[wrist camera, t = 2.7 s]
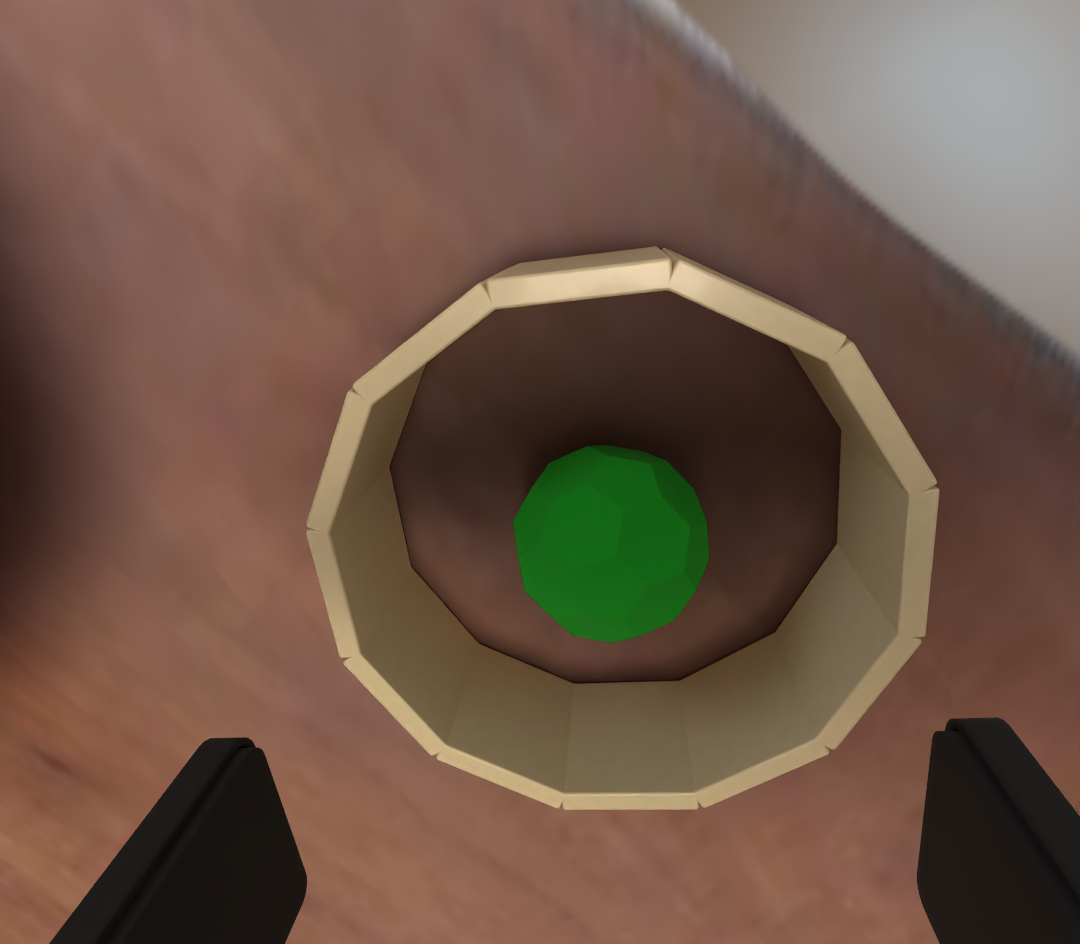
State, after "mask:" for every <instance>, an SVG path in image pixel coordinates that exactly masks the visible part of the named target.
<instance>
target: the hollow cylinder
mask: <svg viewBox="0 0 1080 944" xmlns="http://www.w3.org/2000/svg"><path fill="white" fill-rule="evenodd" d="M665 290H669V291H671V292H673V293H675V294H677V295H680V296H682V297H684V298H686V299H688V300H691V301H693V302H695V303H697V304H699V305H702V306H704V307H706V308H708V309H710V310H712V311H715V312H717V313H719V314H721V315H723V316H726V317H728V318H730V319H732V320H734V321H737V322H739V323H741V324H743V325H745V326H747V327H750V328H752V329H754V330H756V331H758V332H761V333H763V334H765V335H767V336H769V337H772V338H774V339H776V340H778V341H780V342H783V343H785V344H787V345H788V346H789V348H790V349H791V351H792V353H793V354H794V356H795V357H796V359H797V360H798V362H799V364H800V365H801V367H802V368H803V370H804V372H805V373H806V375H807V376H808V378H809V379H810V381H811V383H812V384H813V386H814V387H815V389H816V391H817V392H818V394H819V395H820V397H821V398H822V400H823V402H824V403H825V405H826V406H827V408H828V410H829V411H830V413H831V414H832V416H833V418H834V419H835V421H836V422H837V424H838V425H839V427H840V429H841V452H840V477H839V502H838V527H837V544H836V545H835V547H834V548H833V550H832V551H831V553H830V554H829V555H828V557H827V558H826V560H825V561H824V563H823V564H822V566H821V567H820V568H819V570H818V571H817V573H816V574H815V576H814V577H813V579H812V580H811V581H810V583H809V584H808V586H807V587H806V589H805V590H804V591H803V593H802V594H801V596H800V597H799V599H798V600H797V602H796V603H795V604H794V606H793V607H792V609H791V610H790V612H789V613H788V614H787V616H786V617H785V619H784V620H783V622H782V623H781V625H780V626H779V627H778V629H777V630H776V632H775V633H773V634H771V635H769V636H767V637H765V638H763V639H761V640H759V641H757V642H755V643H753V644H751V645H749V646H747V647H745V648H743V649H741V650H739V651H737V652H735V653H733V654H731V655H729V656H727V657H725V658H723V659H721V660H719V661H718V662H716V663H714V664H712V665H710V666H708V667H706V668H704V669H702V670H700V671H698V672H696V673H694V674H692V675H690V676H688V677H686V678H684V679H682V680H680V681H654V682H620V683H586V684H573V683H571V682H569V681H566V680H564V679H562V678H559V677H557V676H554V675H552V674H550V673H547V672H545V671H542V670H540V669H538V668H535V667H533V666H531V665H528V664H526V663H523V662H521V661H519V660H516V659H514V658H511V657H509V656H507V655H504V654H502V653H500V652H497V651H495V650H492V649H490V648H488V647H485V646H483V645H481V644H479V643H478V642H477V641H476V640H475V639H474V638H473V637H472V635H471V634H470V633H469V632H468V631H467V630H466V629H465V627H464V626H463V625H462V624H461V623H460V622H459V621H458V620H457V618H456V617H455V616H454V615H453V614H452V613H451V612H450V610H449V609H448V608H447V607H446V606H445V605H444V604H443V602H442V601H441V600H440V599H439V598H438V597H437V596H436V594H435V593H434V592H433V591H432V590H431V589H430V588H429V586H428V585H427V584H426V583H425V582H424V581H423V580H422V578H421V577H420V576H419V575H418V574H417V573H416V572H415V571H414V569H413V568H412V567H411V565H410V560H409V556H408V551H407V546H406V542H405V537H404V532H403V528H402V523H401V518H400V514H399V509H398V505H397V500H396V495H395V491H394V486H393V481H392V477H391V472H390V468H389V466H390V463H391V460H392V457H393V455H394V452H395V449H396V446H397V443H398V441H399V438H400V435H401V432H402V430H403V427H404V424H405V421H406V418H407V416H408V413H409V410H410V407H411V404H412V402H413V399H414V396H415V393H416V390H417V388H418V385H419V382H420V379H421V377H422V374H423V371H424V368H425V365H426V363H427V362H429V361H430V360H431V359H432V358H434V357H435V356H436V355H438V354H439V353H440V352H441V351H443V350H444V349H445V348H447V347H448V346H449V345H450V344H452V343H453V342H454V341H456V340H457V339H458V338H459V337H461V336H462V335H463V334H465V333H466V332H467V331H468V330H470V329H471V328H472V327H474V326H475V325H476V324H477V323H479V322H480V321H481V320H483V319H484V318H485V317H486V316H488V315H489V314H490V313H492V312H493V311H494V310H496V309H505V308H514V307H523V306H532V305H541V304H549V303H558V302H567V301H576V300H585V299H594V298H603V297H612V296H620V295H629V294H638V293H647V292H656V291H665ZM936 484H937V481H936V479H935V477H934V475H933V474H932V472H931V470H930V469H929V467H928V465H927V464H926V462H925V460H924V459H923V457H922V455H921V454H920V452H919V450H918V449H917V447H916V445H915V444H914V442H913V440H912V439H911V437H910V435H909V434H908V432H907V430H906V429H905V427H904V425H903V424H902V422H901V420H900V419H899V417H898V415H897V414H896V412H895V410H894V409H893V407H892V406H891V404H890V402H889V401H888V399H887V397H886V396H885V394H884V392H883V391H882V389H881V387H880V386H879V384H878V382H877V381H876V379H875V377H874V376H873V374H872V372H871V371H870V369H869V367H868V366H867V364H866V362H865V361H864V359H863V357H862V356H861V354H860V352H859V351H858V349H857V347H856V346H855V344H854V343H853V342H851V341H850V340H848V339H846V336H845V335H844V334H842V333H841V332H839V331H837V330H835V329H833V328H831V327H829V326H828V325H826V324H824V323H822V322H820V321H818V320H816V319H815V318H813V317H811V316H809V315H807V314H805V313H803V312H802V311H800V310H798V309H796V308H794V307H792V306H790V305H788V304H786V303H784V302H782V301H780V300H778V299H775V298H773V297H771V296H769V295H767V294H764V293H762V292H760V291H758V290H756V289H754V288H751V287H749V286H747V285H745V284H743V283H741V282H738V281H736V280H734V279H732V278H730V277H728V276H725V275H723V274H721V273H719V272H717V271H714V270H712V269H710V268H708V267H706V266H704V265H701V264H699V263H697V262H695V261H693V260H691V259H688V258H686V257H684V256H682V255H680V254H678V253H675V252H673V251H671V250H669V249H667V248H663V249H662V250H660V249H659V248H658V247H656V246H654V247H646V248H638V249H630V250H622V251H613V252H605V253H597V254H589V255H581V256H573V257H564V258H556V259H548V260H540V261H532V262H523V263H519V264H517V265H515V266H512V267H509V268H507V269H505V270H503V271H501V272H499V273H498V274H496V275H494V276H492V277H490V278H488V279H486V280H484V281H482V282H480V283H478V284H477V285H475V286H474V287H473V288H472V289H471V290H469V291H468V292H467V293H466V294H464V295H463V296H462V297H461V298H459V299H458V300H457V301H456V302H454V303H453V304H452V305H451V306H449V307H448V308H447V309H446V310H444V311H443V312H442V313H441V314H439V315H438V316H437V317H436V318H434V319H433V320H432V321H431V322H429V323H428V324H427V325H426V326H424V327H423V328H422V329H421V330H419V331H418V332H417V333H416V334H414V335H413V336H412V337H411V338H409V339H408V340H407V341H406V342H404V343H403V344H402V345H401V346H399V347H398V348H397V349H396V350H394V351H393V352H392V353H391V354H389V355H388V356H387V357H386V358H384V359H383V360H382V361H381V362H380V363H378V364H377V365H376V366H375V367H373V368H372V369H371V370H370V371H368V372H367V373H366V374H365V375H363V376H362V377H361V378H360V379H358V380H357V381H356V382H355V383H354V384H353V388H352V389H351V390H349V391H348V392H347V395H346V398H345V402H344V405H343V408H342V411H341V414H340V417H339V421H338V424H337V427H336V430H335V433H334V437H333V440H332V443H331V446H330V449H329V452H328V456H327V459H326V462H325V465H324V468H323V471H322V475H321V478H320V481H319V484H318V487H317V491H316V494H315V497H314V500H313V503H312V506H311V510H310V513H309V516H308V519H307V522H306V526H307V527H308V528H309V529H308V530H307V531H306V536H307V539H308V543H309V547H310V550H311V554H312V557H313V561H314V565H315V568H316V572H317V576H318V579H319V583H320V587H321V590H322V594H323V598H324V601H325V605H326V609H327V612H328V616H329V620H330V623H331V627H332V631H333V634H334V638H335V641H336V645H337V649H338V652H339V656H340V657H341V658H345V659H344V661H343V664H344V665H345V666H346V667H347V668H348V669H349V670H350V671H351V672H352V673H353V674H354V675H355V677H356V678H357V679H358V680H359V681H360V682H361V683H362V684H363V685H364V686H365V687H366V688H367V689H368V690H369V691H370V692H371V693H372V694H373V695H374V696H375V698H376V699H377V700H378V701H379V702H380V703H381V704H382V705H383V706H384V707H385V708H386V709H387V710H388V711H389V712H390V713H391V714H392V715H393V716H394V717H395V718H396V720H397V721H398V722H399V723H400V724H401V725H402V726H403V727H404V728H405V729H406V730H407V731H408V732H409V733H410V734H411V735H412V736H413V737H414V738H415V739H416V740H417V742H418V743H419V744H420V745H421V746H422V747H423V748H424V749H425V750H426V751H427V752H428V753H429V754H430V755H431V756H433V755H435V754H437V756H436V757H437V760H440V761H442V762H445V763H447V764H449V765H452V766H454V767H457V768H459V769H462V770H464V771H467V772H469V773H471V774H474V775H476V776H479V777H481V778H484V779H486V780H489V781H491V782H493V783H496V784H498V785H501V786H503V787H506V788H508V789H511V790H513V791H516V792H518V793H520V794H523V795H525V796H528V797H530V798H533V799H535V800H538V801H540V802H542V803H545V804H547V805H550V806H552V807H555V808H559V807H560V805H561V803H562V805H563V809H565V810H696V809H698V807H699V803H700V804H701V806H702V807H704V808H706V807H708V806H711V805H713V804H715V803H717V802H720V801H722V800H724V799H727V798H729V797H731V796H734V795H736V794H738V793H740V792H743V791H745V790H747V789H750V788H752V787H754V786H757V785H759V784H761V783H764V782H766V781H768V780H770V779H773V778H775V777H777V776H780V775H782V774H784V773H787V772H789V771H791V770H793V769H796V768H798V767H800V766H803V765H805V764H807V763H810V762H812V761H814V760H816V759H819V758H821V757H823V756H826V755H828V754H829V750H828V748H830V749H833V750H834V749H836V748H837V747H838V745H839V744H840V743H841V742H842V740H843V739H844V738H845V737H846V735H847V734H848V733H849V732H850V731H851V729H852V728H853V727H854V726H855V724H856V723H857V722H858V721H859V719H860V718H861V717H862V716H863V715H864V713H865V712H866V711H867V710H868V708H869V707H870V706H871V705H872V703H873V702H874V701H875V700H876V698H877V697H878V696H879V695H880V694H881V692H882V691H883V690H884V689H885V687H886V686H887V685H888V684H889V682H890V681H891V680H892V679H893V678H894V676H895V675H896V674H897V673H898V671H899V670H900V669H901V668H902V666H903V665H904V664H905V663H906V662H907V660H908V659H909V658H910V657H911V655H912V654H913V653H914V652H915V650H916V649H917V648H918V647H919V646H920V644H921V642H922V641H921V639H920V638H919V637H924V636H925V634H926V624H927V614H928V604H929V593H930V583H931V573H932V563H933V553H934V543H935V532H936V522H937V512H938V502H939V489H938V488H937V487H936V486H934V485H936Z"/></svg>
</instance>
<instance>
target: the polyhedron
mask: <svg viewBox="0 0 1080 944" xmlns="http://www.w3.org/2000/svg"><path fill="white" fill-rule="evenodd" d="M513 526H514V533H515V540H516V546H517V553H518V559H519V564H520V569H521V574H522V580H523V585H524V590H525V592H526V593H527V594H528V595H529V596H530V597H531V598H532V599H533V600H534V601H535V602H536V603H537V604H538V605H540V606H541V607H542V608H543V609H544V610H545V611H546V612H547V613H548V614H549V615H550V616H551V617H552V618H553V619H554V620H555V621H557V622H558V623H559V624H560V625H561V626H562V627H564V628H565V629H566V630H567V631H568V632H569V633H570V634H572V635H573V636H579V637H584V638H589V639H594V640H599V641H604V642H609V643H613V642H617V641H622V640H626V639H630V638H634V637H638V636H641V635H643V634H645V633H648V632H650V631H652V630H654V629H657V628H659V627H661V626H663V625H666V624H668V623H670V622H672V621H675V619H676V618H677V616H678V615H679V614H680V612H681V611H682V609H683V608H684V607H685V605H686V604H687V603H688V601H689V600H690V598H691V597H692V596H693V594H694V593H695V591H696V590H697V587H698V585H699V583H700V580H701V578H702V575H703V573H704V571H705V568H706V566H707V564H708V561H709V559H710V558H709V545H708V533H707V521H706V518H705V515H704V513H703V510H702V508H701V505H700V502H699V500H698V497H697V495H696V492H695V489H694V488H693V487H692V486H691V485H690V484H689V483H688V482H687V481H686V480H685V479H684V478H683V477H682V476H681V475H680V474H679V473H678V472H677V471H676V470H675V469H674V468H673V467H672V466H671V465H670V464H669V463H668V462H667V461H666V460H663V459H661V458H658V457H656V456H653V455H651V454H648V453H646V452H643V451H638V450H632V449H627V448H622V447H616V446H611V445H596V446H586V447H584V448H581V449H579V450H577V451H575V452H572V453H570V454H568V455H565V456H563V457H561V458H559V459H556V460H554V461H552V462H550V463H549V464H548V465H547V467H546V468H545V469H544V471H543V472H542V474H541V475H540V477H539V478H538V479H537V481H536V482H535V484H534V485H533V486H532V488H531V489H530V491H529V493H528V495H527V497H526V499H525V500H524V502H523V504H522V506H521V508H520V509H519V511H518V513H517V515H516V517H515V518H514V520H513Z"/></svg>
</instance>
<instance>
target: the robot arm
mask: <svg viewBox="0 0 1080 944" xmlns="http://www.w3.org/2000/svg"><path fill="white" fill-rule="evenodd" d="M917 884H918V890H919V895H920V898H921V902H922V904H923V907H924V910H925V912H926V914H927V916H928V919H929V921H930V923H931V925H932V927H933V930H934V932H935V934H936V936H937V939H938V941H939V943H940V944H1080V816H1079V815H1078V814H1077V812H1076V811H1075V810H1074V808H1073V807H1072V806H1071V805H1070V803H1069V802H1068V801H1067V799H1066V798H1065V797H1064V795H1063V794H1062V793H1061V792H1060V790H1059V789H1058V788H1057V786H1056V785H1055V784H1054V783H1053V781H1052V780H1051V779H1050V777H1049V776H1048V775H1047V774H1046V772H1045V771H1044V770H1043V768H1042V767H1041V766H1040V764H1039V763H1038V762H1037V761H1036V759H1035V758H1034V757H1033V755H1032V754H1031V753H1030V752H1029V750H1028V749H1027V748H1026V746H1025V745H1024V744H1023V743H1022V741H1021V740H1020V739H1019V737H1018V736H1017V735H1016V733H1015V732H1014V731H1013V730H1012V728H1011V727H1010V726H1009V725H1008V724H1007V723H1006V722H1005V721H1004V720H1002V719H1000V718H965V719H950V720H949V721H948V722H947V724H946V728H945V731H936V732H935V733H934V734H933V739H932V747H931V755H930V764H929V773H928V782H927V790H926V799H925V808H924V817H923V826H922V834H921V843H920V852H919V861H918V870H917ZM306 887H307V876H306V872H305V869H304V866H303V863H302V860H301V857H300V854H299V851H298V849H297V846H296V843H295V840H294V837H293V834H292V831H291V829H290V826H289V823H288V820H287V817H286V814H285V811H284V808H283V806H282V803H281V800H280V797H279V794H278V791H277V788H276V786H275V783H274V780H273V777H272V774H271V771H270V768H269V765H268V763H267V760H266V757H265V754H264V752H263V750H262V749H260V748H256V747H255V745H254V743H253V741H252V740H250V739H249V738H210V739H208V740H206V741H204V742H203V743H202V744H201V745H200V746H199V748H198V749H197V750H196V752H195V753H194V754H193V756H192V757H191V758H190V760H189V761H188V762H187V763H186V765H185V766H184V767H183V769H182V770H181V771H180V773H179V774H178V775H177V777H176V778H175V779H174V781H173V782H172V783H171V784H170V786H169V787H168V788H167V790H166V791H165V792H164V794H163V795H162V796H161V798H160V799H159V800H158V802H157V803H156V804H155V805H154V807H153V808H152V809H151V811H150V812H149V813H148V815H147V816H146V817H145V819H144V820H143V821H142V823H141V824H140V825H139V827H138V828H137V829H136V830H135V832H134V833H133V834H132V836H131V837H130V838H129V840H128V841H127V842H126V844H125V845H124V846H123V848H122V849H121V850H120V851H119V853H118V854H117V855H116V857H115V858H114V859H113V861H112V862H111V863H110V865H109V866H108V867H107V869H106V870H105V871H104V872H103V874H102V875H101V876H100V878H99V879H98V880H97V882H96V883H95V884H94V886H93V887H92V888H91V890H90V891H89V892H88V894H87V895H86V896H85V897H84V899H83V900H82V901H81V903H80V904H79V905H78V907H77V908H76V909H75V911H74V912H73V913H72V915H71V916H70V917H69V918H68V920H67V921H66V922H65V924H64V925H63V926H62V928H61V929H60V930H59V932H58V933H57V934H56V936H55V937H54V938H53V939H52V941H51V942H50V943H49V944H285V942H286V940H287V938H288V935H289V933H290V931H291V928H292V926H293V924H294V922H295V919H296V917H297V915H298V913H299V910H300V908H301V906H302V903H303V901H304V898H305V893H306Z"/></svg>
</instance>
